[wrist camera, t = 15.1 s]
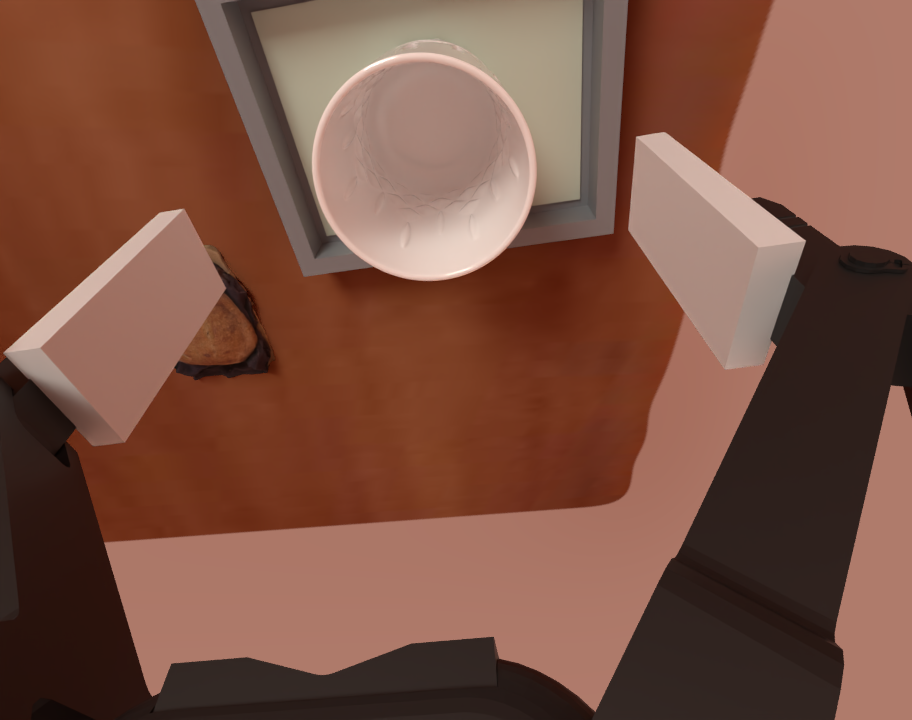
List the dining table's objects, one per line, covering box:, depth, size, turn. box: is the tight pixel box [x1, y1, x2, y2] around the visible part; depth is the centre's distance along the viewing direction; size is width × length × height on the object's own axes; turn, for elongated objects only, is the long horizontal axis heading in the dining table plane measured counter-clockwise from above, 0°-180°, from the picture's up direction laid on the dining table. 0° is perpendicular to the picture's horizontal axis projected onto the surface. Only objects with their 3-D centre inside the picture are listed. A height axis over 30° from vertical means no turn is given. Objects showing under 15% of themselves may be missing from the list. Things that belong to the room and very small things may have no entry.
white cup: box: [312, 38, 537, 281], centre depth 21 cm, size 8×8×10 cm
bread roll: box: [174, 245, 275, 380], centre depth 33 cm, size 11×8×4 cm
